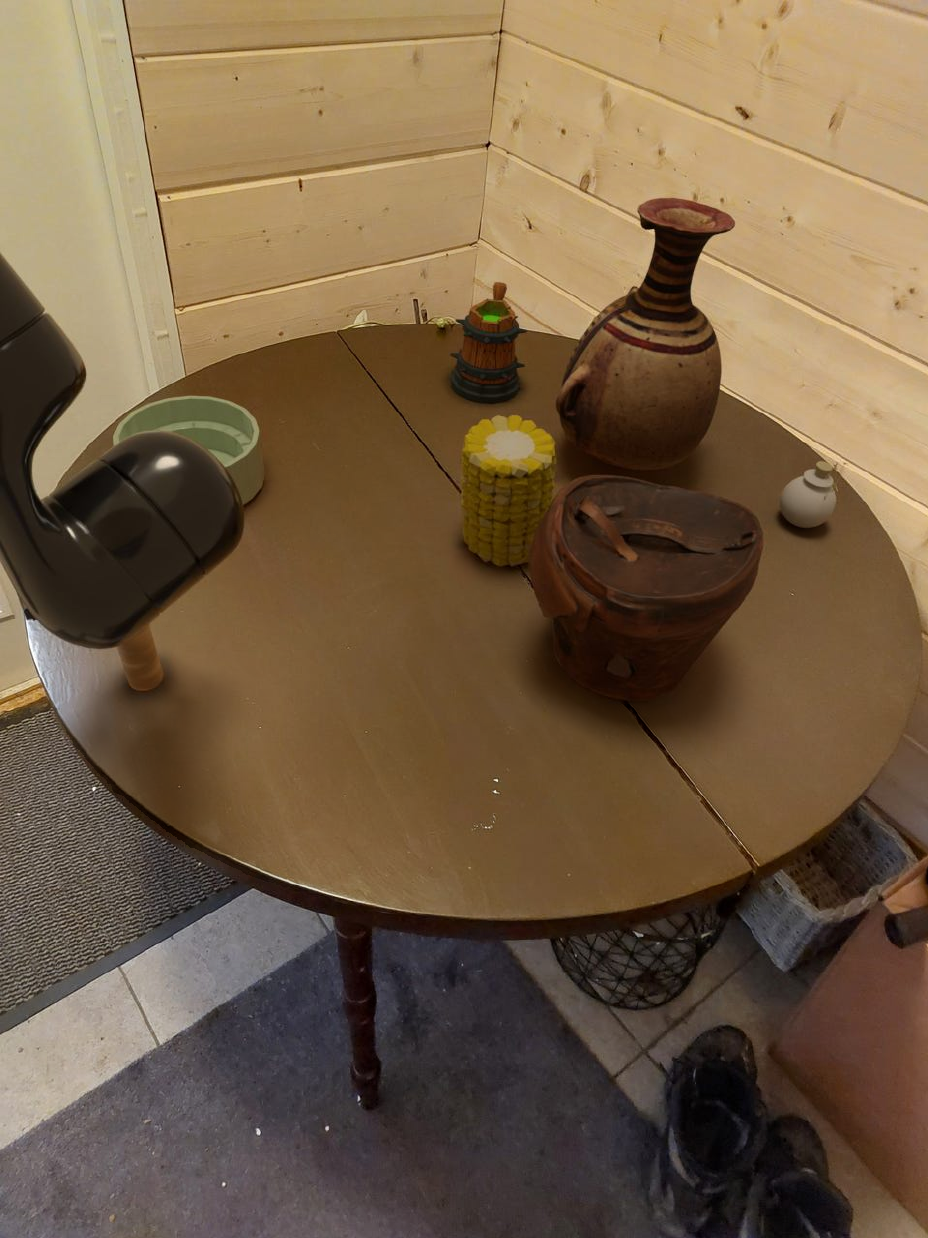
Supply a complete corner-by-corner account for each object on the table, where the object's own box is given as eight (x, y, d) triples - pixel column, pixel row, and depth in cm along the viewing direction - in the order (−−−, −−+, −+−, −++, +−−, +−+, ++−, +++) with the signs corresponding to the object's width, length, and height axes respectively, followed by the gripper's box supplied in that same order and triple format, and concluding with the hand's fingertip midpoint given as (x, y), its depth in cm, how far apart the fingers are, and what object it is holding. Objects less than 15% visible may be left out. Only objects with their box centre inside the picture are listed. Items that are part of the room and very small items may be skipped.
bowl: (132, 534, 88) (118, 485, 83) (121, 452, 97) (108, 404, 93) (276, 512, 92) (270, 463, 87) (252, 436, 102) (246, 388, 97)
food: (557, 558, 93) (485, 593, 88) (498, 484, 97) (426, 515, 93) (599, 467, 80) (517, 504, 76) (528, 387, 84) (447, 418, 80)
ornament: (814, 506, 100) (848, 437, 93) (834, 547, 95) (872, 477, 88) (766, 504, 100) (796, 434, 93) (784, 545, 95) (817, 474, 88)
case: (488, 606, 84) (508, 460, 71) (662, 575, 90) (710, 435, 77) (553, 746, 73) (592, 603, 60) (748, 702, 78) (822, 562, 65)
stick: (129, 694, 73) (91, 580, 63) (127, 669, 75) (89, 554, 65) (165, 687, 74) (132, 573, 64) (161, 662, 76) (129, 548, 66)
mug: (517, 409, 110) (528, 327, 102) (442, 397, 111) (447, 315, 103) (527, 362, 119) (539, 283, 111) (458, 351, 120) (464, 272, 112)
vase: (550, 505, 97) (601, 244, 75) (528, 418, 109) (566, 173, 87) (725, 505, 99) (822, 254, 78) (683, 421, 112) (757, 184, 90)
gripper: (209, 483, 55) (184, 519, 71) (-21, 541, 50) (7, 565, 66) (245, 590, 56) (213, 602, 72) (23, 659, 50) (40, 655, 66)
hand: (115, 584), depth 69 cm, fingers closed on stick, 3 cm apart
